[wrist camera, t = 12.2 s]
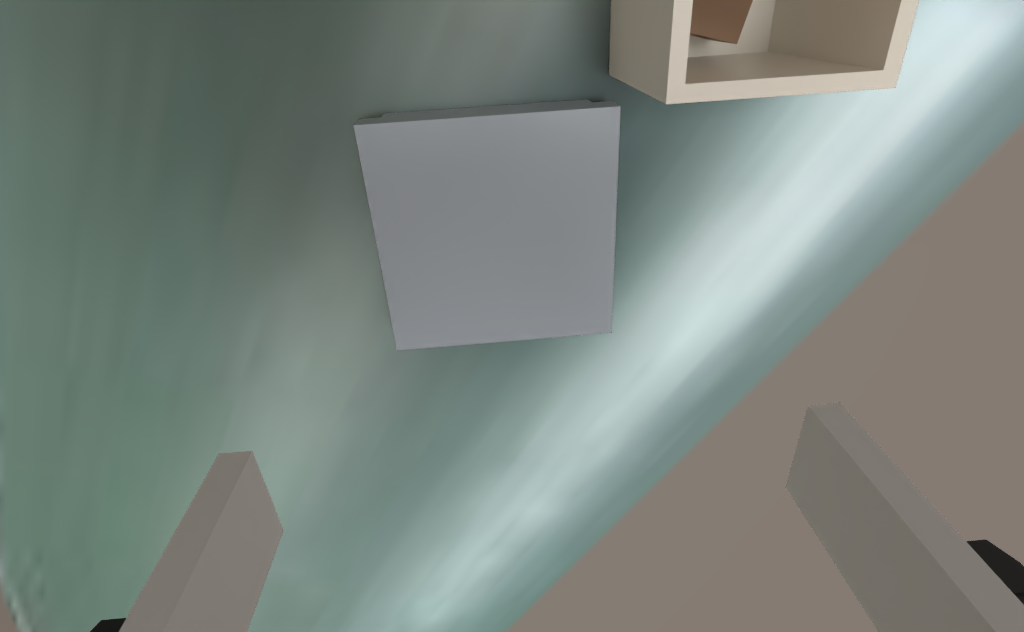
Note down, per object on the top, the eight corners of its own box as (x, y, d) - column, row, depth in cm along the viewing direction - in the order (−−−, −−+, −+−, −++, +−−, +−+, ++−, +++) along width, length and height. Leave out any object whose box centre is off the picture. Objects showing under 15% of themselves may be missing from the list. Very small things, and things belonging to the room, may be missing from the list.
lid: (364, 114, 27) (353, 125, 24) (607, 97, 27) (620, 106, 25) (402, 324, 33) (396, 350, 30) (601, 308, 33) (611, 332, 31)
